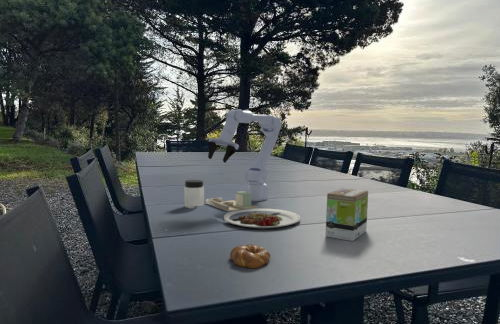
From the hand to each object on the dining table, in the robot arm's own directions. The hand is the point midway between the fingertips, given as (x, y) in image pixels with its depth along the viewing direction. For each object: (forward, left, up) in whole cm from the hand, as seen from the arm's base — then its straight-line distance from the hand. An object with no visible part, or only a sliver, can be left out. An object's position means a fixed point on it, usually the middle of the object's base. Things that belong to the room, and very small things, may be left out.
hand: (216, 160), depth 164 cm
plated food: (-6, +28, -23) cm, 36 cm away
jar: (+6, -10, -22) cm, 25 cm away
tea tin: (-12, +4, -21) cm, 24 cm away
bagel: (+22, +64, -23) cm, 71 cm away
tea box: (-20, +59, -22) cm, 66 cm away
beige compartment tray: (-8, 0, -22) cm, 23 cm away
